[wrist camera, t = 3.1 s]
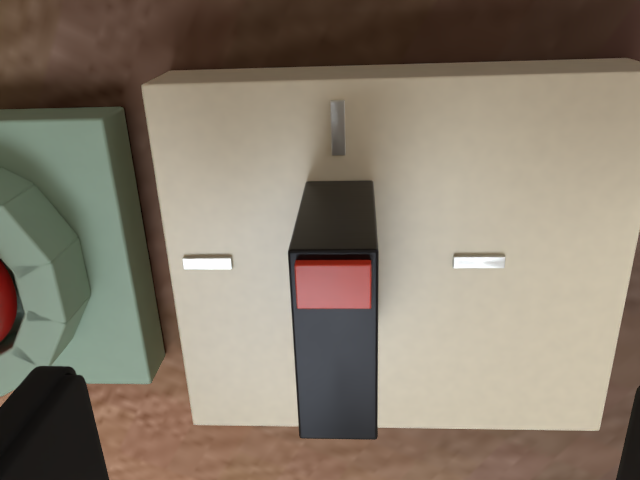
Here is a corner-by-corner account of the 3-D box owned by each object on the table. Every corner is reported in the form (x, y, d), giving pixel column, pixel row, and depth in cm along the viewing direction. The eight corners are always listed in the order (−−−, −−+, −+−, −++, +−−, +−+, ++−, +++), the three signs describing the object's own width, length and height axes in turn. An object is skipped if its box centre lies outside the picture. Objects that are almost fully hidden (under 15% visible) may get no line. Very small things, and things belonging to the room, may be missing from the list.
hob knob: (372, 334, 17) (377, 448, 13) (312, 334, 18) (298, 446, 13) (373, 180, 16) (378, 255, 11) (305, 180, 16) (285, 255, 11)
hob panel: (210, 378, 22) (191, 429, 19) (168, 70, 17) (137, 85, 15) (573, 381, 21) (602, 435, 18) (629, 57, 16) (676, 71, 14)
